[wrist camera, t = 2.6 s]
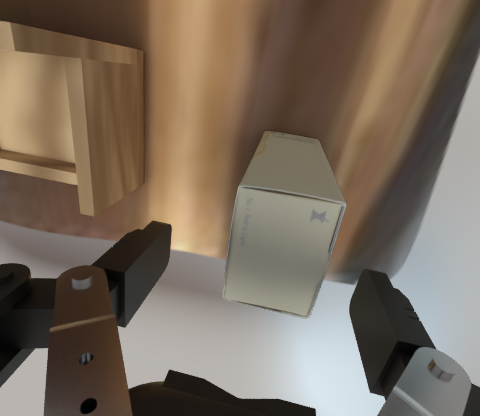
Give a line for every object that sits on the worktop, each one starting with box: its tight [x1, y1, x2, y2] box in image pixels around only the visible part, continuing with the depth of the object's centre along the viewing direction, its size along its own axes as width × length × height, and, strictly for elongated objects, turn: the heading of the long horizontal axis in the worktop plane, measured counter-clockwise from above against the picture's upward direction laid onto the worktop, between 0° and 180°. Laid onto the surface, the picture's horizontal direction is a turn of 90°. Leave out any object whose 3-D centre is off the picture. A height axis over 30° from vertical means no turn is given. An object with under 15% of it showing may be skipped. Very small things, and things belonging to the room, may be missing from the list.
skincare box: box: [222, 131, 347, 319], centre depth 18 cm, size 6×4×12 cm
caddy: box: [0, 21, 144, 216], centre depth 19 cm, size 14×10×11 cm
